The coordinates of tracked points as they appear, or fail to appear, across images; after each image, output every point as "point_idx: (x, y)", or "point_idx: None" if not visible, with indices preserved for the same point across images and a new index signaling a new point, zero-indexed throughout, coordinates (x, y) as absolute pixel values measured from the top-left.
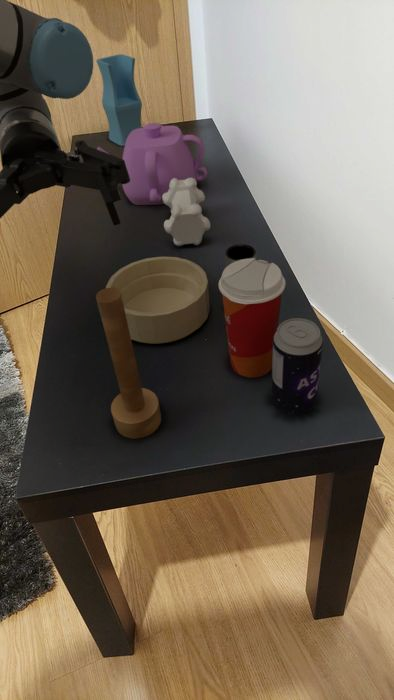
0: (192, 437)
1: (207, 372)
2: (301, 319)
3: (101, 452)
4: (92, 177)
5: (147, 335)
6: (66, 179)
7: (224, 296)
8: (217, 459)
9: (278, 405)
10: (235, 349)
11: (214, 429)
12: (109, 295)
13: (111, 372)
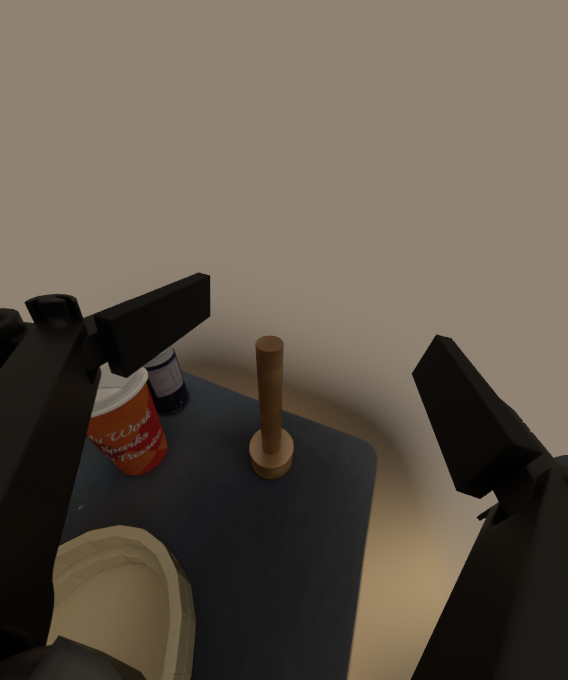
0: (248, 418)
1: (182, 470)
2: None
3: (312, 445)
4: (80, 372)
5: (180, 567)
6: (36, 573)
7: (137, 395)
8: (247, 397)
9: (187, 396)
10: (160, 430)
11: (231, 415)
12: (269, 341)
13: (258, 554)
